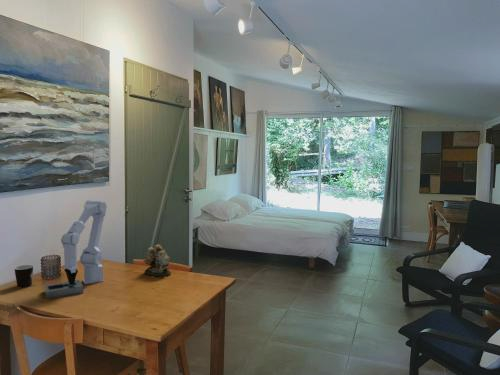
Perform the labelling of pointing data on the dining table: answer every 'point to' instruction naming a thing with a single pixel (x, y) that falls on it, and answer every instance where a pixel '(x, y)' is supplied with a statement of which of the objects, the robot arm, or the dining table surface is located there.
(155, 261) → the grey lumpy cluster
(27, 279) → the coffee mug
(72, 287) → the keyhole plate
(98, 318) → the dining table surface
